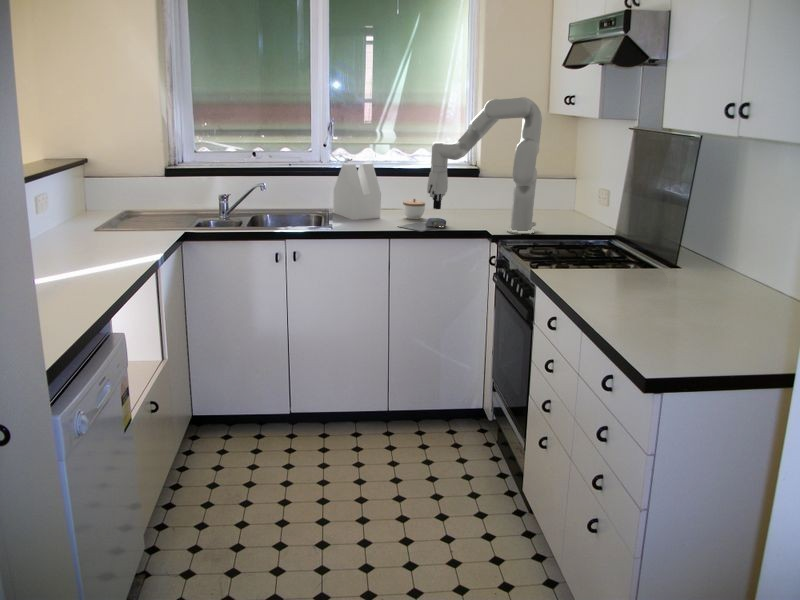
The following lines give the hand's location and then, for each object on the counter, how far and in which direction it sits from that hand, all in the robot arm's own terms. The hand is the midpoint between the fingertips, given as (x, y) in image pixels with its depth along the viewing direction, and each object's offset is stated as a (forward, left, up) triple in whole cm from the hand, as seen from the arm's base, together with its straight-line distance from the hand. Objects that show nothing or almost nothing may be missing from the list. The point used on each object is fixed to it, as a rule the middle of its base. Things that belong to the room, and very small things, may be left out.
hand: (436, 208), depth 380 cm
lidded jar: (-4, -17, -8) cm, 19 cm away
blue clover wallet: (+1, +1, -6) cm, 6 cm away
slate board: (+11, 0, -7) cm, 13 cm away
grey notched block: (+13, -39, -8) cm, 42 cm away
